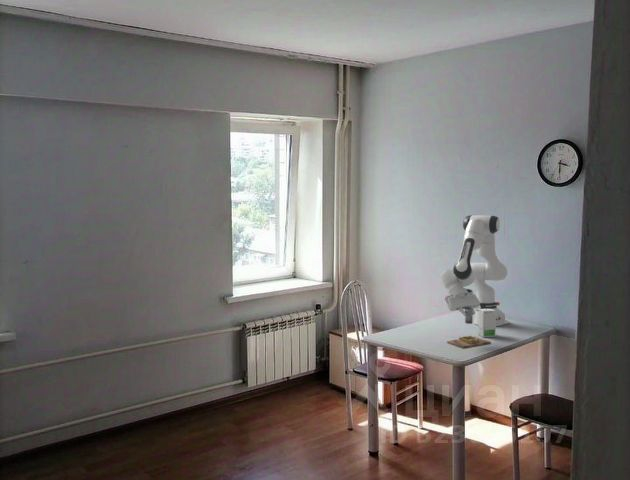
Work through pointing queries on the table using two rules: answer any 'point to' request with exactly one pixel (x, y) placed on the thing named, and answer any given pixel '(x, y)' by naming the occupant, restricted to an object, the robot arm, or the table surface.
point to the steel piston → (469, 316)
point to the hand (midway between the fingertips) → (469, 314)
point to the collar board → (468, 342)
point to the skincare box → (487, 323)
